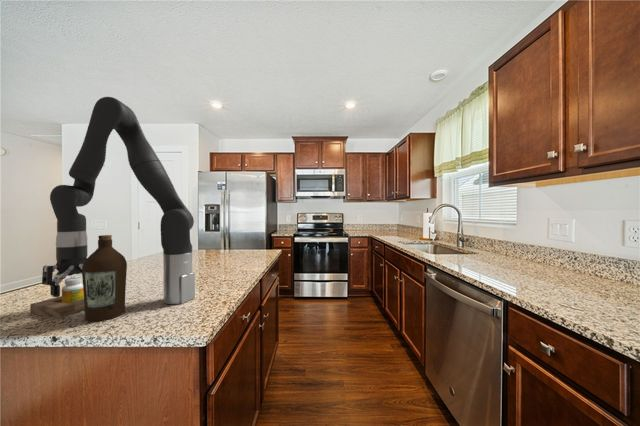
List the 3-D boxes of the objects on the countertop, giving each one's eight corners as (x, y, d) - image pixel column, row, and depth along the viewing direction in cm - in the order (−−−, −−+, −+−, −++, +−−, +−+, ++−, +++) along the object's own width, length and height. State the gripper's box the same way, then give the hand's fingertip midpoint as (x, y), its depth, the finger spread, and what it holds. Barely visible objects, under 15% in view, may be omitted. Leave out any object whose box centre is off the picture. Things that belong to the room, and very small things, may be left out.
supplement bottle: (69, 311, 81) (69, 281, 81) (57, 309, 82) (57, 280, 82) (88, 305, 86) (88, 277, 86) (76, 304, 87) (76, 276, 87)
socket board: (110, 302, 89) (110, 293, 89) (60, 318, 75) (60, 308, 75) (82, 298, 93) (82, 290, 93) (30, 313, 79) (30, 304, 79)
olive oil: (90, 312, 80) (90, 234, 80) (131, 306, 84) (130, 233, 84) (75, 325, 70) (74, 237, 70) (121, 318, 75) (120, 236, 75)
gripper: (52, 248, 76) (52, 300, 76) (103, 242, 90) (103, 287, 90) (36, 247, 78) (36, 298, 78) (88, 242, 92) (89, 285, 92)
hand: (72, 292), depth 84 cm, fingers open, 8 cm apart
